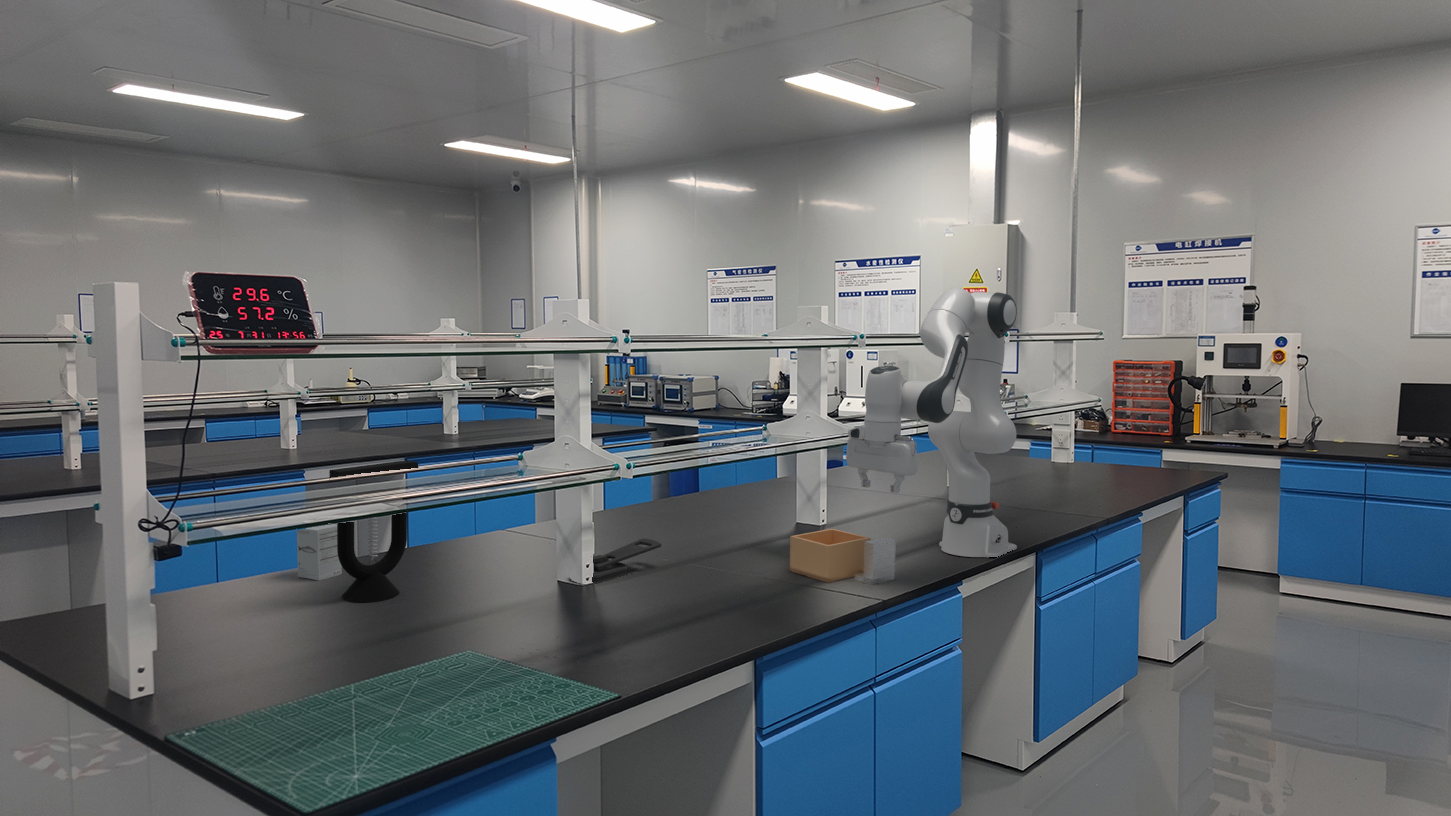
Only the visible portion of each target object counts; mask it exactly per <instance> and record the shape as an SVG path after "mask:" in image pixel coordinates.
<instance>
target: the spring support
mask: <svg viewBox="0 0 1451 816" xmlns="http://www.w3.org/2000/svg"><path fill="white" fill-rule="evenodd" d="M411 468H419V463H418V462H417V461H413V460H406V459H405V460H398V461H397V460H396V461H389V462H383V463H382V462H381V463H375V464H366V465H357V466H350V467H342V468H336V469H335V468H334V469H329V472H328V473H329V479H330V478H331V477H338V476H346V475H354V474H361V473H371V472H380V471H389V470H400V469H411ZM390 516H391V515H390ZM373 518H374V519H371V518H369V519H368V522H369V523H368V529H369V530H368V537H369V538H368V541H369V542H368V545H369V546H368V548H369V549H368V556H370V557H371V558H370V561H369V562H368V564H365V563H362V562H360V561H359V559H358V557H357V555H356V552H355V521H354V522H346V523H338V524H337V523H336V525H337V553H338V558H339V561H340V564H341V566H342V569H343V570H344V571H345V572H346V573H347V574H348V575H349V576H351V577H352V578H354V579H355V580H354V581H353V582H352V583H351V585H350V586H349V587H348V588H347V589H346V590H345V591H344V593H343V594H342V596H341V597H342V599H343V600H345V601H348V602H353V603H373V602H375V603H376V602H381V601H382V602H383V601H386V600H387V601H388V600H390V599H393V598H396V597H397V596H399V594H400V590H399V589H398V588H397V586H395V585H394V584H393V583H392V582H391V581H390V579H389V578H388V577H387V576H386V575H388V574H389V573H391V572H392V571H393V570H394V568H396V567H397V566H398V564H399V563H400V561H401V559H402V557H403V555H404V553H405V550H406V546H407V542H408V540H407V539H408V512H407V513H402V514H396V515H392V516H391V517H390V518H391V519H390V520H391V521H390V525H391V526H390V527H391V528H390V530H391V532H390V533H391V534H390V535H391V537H390V545H389V547H388V550H387V551H386V553H385V555H384V556H383V557H382V558H381V559H380V560H378V561H377V559H375V558H376V557H379V555H378V554H377V553H379V551H378V549H379V547H377V546H378V545H379V543H377V542H379V540H378V539H376V538H378V537H379V536H378V534H379V532H373V531H379V529H378V528H376V527H379V525H378V524H377V523H379V522H378V521H377V520H378V519H379V517H377V518H376V517H373ZM375 520H376V521H375ZM374 527H375V528H374ZM375 535H376V536H375ZM375 542H376V543H375ZM373 561H375V563H373V564H370V562H373Z"/></svg>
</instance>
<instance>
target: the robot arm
mask: <svg viewBox="0 0 1451 816" xmlns="http://www.w3.org/2000/svg"><path fill="white" fill-rule="evenodd" d="M1017 313H1018V312H1017V304H1016V301H1015V300H1014V299H1013V297H1012V296H1011V295H1010V294H1007V293H1003V292H999V291H998V292H988V291H973V292H970V291H968V290H967V289H964V288H962V287H950V288H949V289H947V290H945V291H944V292H943V293H942V294H941V295H940V296H939V298H937V299H936V301H935V302H934V304H933V305H932V307H931V308H930V309H929V311H928V312H927V314H926V316H925V318H924V320H923V321H922V324H921V325H920V330H919V334H920V335H919V336H920V340H921V343H922V344H923V346H924V348H926V349H927V350H928V351H929V352H930V353H932V354H933V355H934V356H936V357H939V358H942V363H941V366H940V369H939V372H938V375H937V377H936V378H934V379H931V380H914V379H913V380H912V379H911V380H910V379H909V378H906V377H905V376H903V375H902V373H901V369H900V367H898V366H895V365H894V366H893V365H883V366H881V365H880V366H876V367H873V368H872V369H870V370H869V371H868V373H867V374H868V375H867V379H866V383H865V394H864V405H865V409H866V410H865V415H864V421H863V424H862V425H859V426H857V427H853V428H850V429H848V431H847V437H848V438H849V439H848V441H847V444H846V455H845V457H846V458H845V461H846V464H847V466H848V467H849V468H856V469H857V474H858V476H859V478H860V481H861V483H860V485H861V487H862V488H865V489H866V488H870V487H871V479H869V477H868V475H867V474H868V472H869V471H874V472H880V473H885V474H886V473H887V474H892V475H894V476H893V479H894V483H893V484H890V489H889V490H890V493H893V494H898V493H900V492H901V485H902V483H903V482H904V480H905V477H906V476H907V477H910V476H911V477H912V476H916V474H917V473H918V471H919V466H918V452H917V442H916V441H915V439H913V437H912V436H910V435H909V436H908V435H907V436H906V435H902V434H901V432H902V419H907V420H915V421H923V422H929V423H928V426H927V432H928V437H929V439H930V442H931V443H932V444H933V445H934V446H935V447H936V448H937V449H938V451H939V452H940V453H941V455H942V457H943V460H944V462H945V467H946V469H947V474H948V475H947V476H948V500H946V513H947V516H946V517H945V518H944V523H943V530H942V539H941V540H940V541H939V545H938V546H939V547H940V548H941V551H942V552H943V553H945V554H950V555H954V556H960V557H967V558H968V557H969V558H989V557H997V558H999V557H1001V555H1002V556H1003V554H1004V555H1006V554H1008V553H1007V552H1009V553H1011V552H1013V551H1015V550H1018V545H1016V544H1014V543H1012V542H1009V530H1008V528H1007V527H1006V525H1004V524H1003V523H1002V522H1001V521H1000V520H999V519H998V518H997V517H996V516H995V515H994V513H995V512H994V510H998V509H999V508H1000V503H999V502H994V501H991V475H990V473H989V471H988V470H987V469H986V468H985V467H984V466H983V465H981V464H980V462H979V461H978V459H977V457H976V454H975V453H979V454H987V455H994V454H995V455H996V454H1004V453H1007V452H1009V451H1010V450H1011V449H1012V448H1013V446H1014V445H1015V443H1016V440H1017V428H1016V426H1015V424H1014V422H1013V421H1012V419H1011V418H1010V417H1009V416H1008V414H1007V413H1006V412H1005V410H1004V408H1003V404H1002V402H1001V382H1002V381H1001V380H1002V373H1003V368H1004V361H1005V350H1006V349H1005V345H1006V344H1005V342H1006V341H1005V336H1006V335H1007V333H1008V332H1009V331H1010V330H1011V328H1012V327H1013V325H1014V324H1015V322H1016V319H1017V315H1018V314H1017ZM966 334H968V337H967V339H966V337H965V335H966ZM958 389H959V391H960V392H961V394H962V395H964V397H966V398H967V399H969V402H970V403H969V404H970V411H961V410H954V408H955V406H956V405H955V404H956V396H957V391H958ZM1012 550H1013V551H1012ZM1010 551H1011V552H1010ZM998 556H999V557H998Z"/></svg>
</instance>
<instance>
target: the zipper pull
mask: <svg viewBox="0 0 1451 816" xmlns="http://www.w3.org/2000/svg"><path fill="white" fill-rule="evenodd" d="M641 545H642V546H641ZM661 547H662V543H661V542H659V541H657V540H654V539H651V538H640V539H638V540H635V541H633V542H630V543H629V544H626V545H623V546H621V547H619V548H617V549H614V550H612V551H610V552H608V553H607V552H606V553H605V554H598V555H597V554H596V555H592V556H593V563H594V573H593V577H592V582H593V583H594V584H593V585H599V584H601V583H604V581H605V582H607V581H608V582H609V581H612V580H614V578H615V579H618V578H617V577H619V578H622V577H625V575H626V576H627V575H628V565H626V564H625V563H622V561H625V560H628V559H631V558H634V557H637V556H639V555H642V554H645V553H648V552H651V551H653V550H656V549H658V548H661ZM621 576H622V577H621ZM611 579H612V580H611Z"/></svg>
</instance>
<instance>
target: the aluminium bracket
mask: <svg viewBox="0 0 1451 816" xmlns="http://www.w3.org/2000/svg"><path fill="white" fill-rule="evenodd" d="M896 543H897V542H896V539H894V538H891V537H886V536H885V537H880V538H875V539H871V540H870V541H865V542H864V573H859V574H855V575H854V578H853V579H854V580H855V579H856V581H858V580H860V581H859V582H862V581H864V582H863V583H865V582H866V584H869V583H870V584H869V585H872V584H873V585H877V584H881V583H885V582H889V581H893V580H895V579H896ZM876 583H877V584H876Z"/></svg>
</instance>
